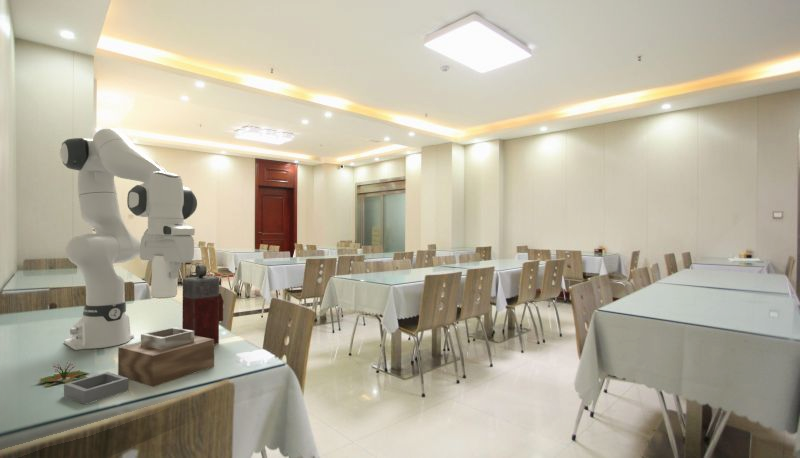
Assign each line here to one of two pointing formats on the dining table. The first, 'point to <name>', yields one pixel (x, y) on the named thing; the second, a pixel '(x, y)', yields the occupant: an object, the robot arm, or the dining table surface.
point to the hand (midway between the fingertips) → (165, 277)
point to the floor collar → (96, 387)
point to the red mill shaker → (202, 305)
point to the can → (162, 279)
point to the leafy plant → (63, 376)
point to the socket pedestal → (165, 356)
